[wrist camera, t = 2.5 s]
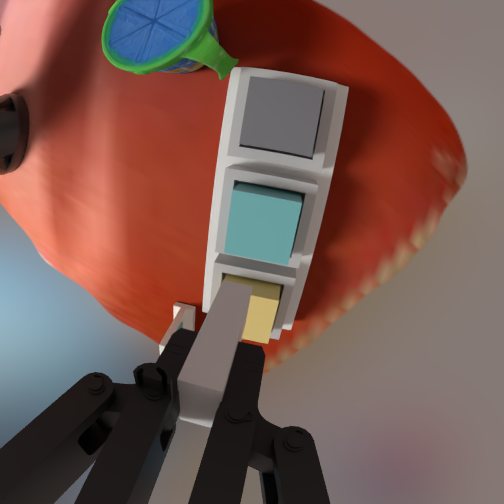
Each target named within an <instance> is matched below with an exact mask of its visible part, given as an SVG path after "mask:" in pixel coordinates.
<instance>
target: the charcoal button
mask: <svg viewBox="0 0 504 504" xmlns="http://www.w3.org/2000/svg"><path fill="white" fill-rule="evenodd" d="M323 91H324V88H320V87H315V86H310V85H305V84H300V83H295V82H289V81H283V80H277V79H270V78H263V77H255V76H250V80H249V86H248V92H247V98H246V104H245V110H244V116H243V122H242V129H241V135H240V141H239V144H243V145H249V146H256V147H262V148H268V149H273V150H279V151H284V152H289V153H294V154H299V155H304V156H309V157H312V152H313V147H314V141H315V136H316V131H317V125H318V120H319V114H320V108H321V103H322V97H323Z"/></svg>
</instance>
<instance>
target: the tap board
mask: <svg viewBox="0 0 504 504" xmlns="http://www.w3.org/2000/svg"><path fill="white" fill-rule="evenodd" d="M250 76H255V77H263V78H270V79H277V80H283V81H289V82H295V83H300V84H305V85H310V86H315V87H320V88H324V91H323V97H322V103H321V108H320V114H319V120H318V125H317V131H316V136H315V141H314V147H313V152H312V157H309V156H304V155H299V154H294V153H289V152H284V151H279V150H273V149H268V148H262V147H256V146H249V145H243V144H239V141H240V135H241V129H242V122H243V116H244V110H245V104H246V98H247V92H248V86H249V80H250ZM348 90H349V87H347V86H343V85H339V84H338V83H335V82H331V81H327V80H323V79H318V78H314V77H309V76H304V75H299V74H293V73H287V72H281V71H274V70H267V69H259V68H250V67H241V68H239V67H234V68H233V69H232V70H231V75H230V81H229V87H228V92H227V98H226V105H225V111H224V117H223V124H222V130H221V137H220V144H219V151H218V159H217V166H216V174H215V182H214V190H213V199H212V208H211V217H210V226H209V236H208V246H207V257H206V268H205V280H204V293H203V307H202V312H206V313H208V311H209V309H210V307H211V305H212V303H213V301H214V299H215V297H216V294H217V292H218V290H219V288H220V286H221V284H222V282H223V280H224V278H225V276H226V274H227V273H228V274H233V275H238V276H243V277H247V278H252V279H257V280H262V281H267V282H273V283H278V284H280V296H279V303H278V307H277V311H276V315H275V319H274V322H273V326H272V330H271V334H270V337H269V338H273V339H278V340H279V337H280V334H281V330H282V329H288V330H291V328H292V325H293V321H294V318H295V315H296V312H297V309H298V305H299V302H300V299H301V295H302V292H303V288H304V285H305V281H306V278H307V274H308V271H309V267H310V264H311V260H312V256H313V253H314V249H315V245H316V241H317V237H318V234H319V230H320V226H321V222H322V218H323V213H324V209H325V205H326V201H327V197H328V192H329V188H330V184H331V179H332V174H333V170H334V165H335V160H336V156H337V151H338V146H339V141H340V135H341V130H342V125H343V119H344V114H345V108H346V102H347V96H348ZM240 182H243V183H249V184H254V185H260V186H265V187H271V188H276V189H281V190H286V191H291V192H296V193H300V194H301V200H302V205H301V210H300V215H299V219H298V224H297V228H296V232H295V237H294V241H293V246H292V250H291V254H290V258H289V263H288V265H282V264H277V263H272V262H267V261H262V260H257V259H252V258H247V257H242V256H237V255H232V254H227V253H224V249H225V241H226V233H227V226H228V218H229V211H230V203H231V196H232V190H233V189H234V188H235V187H236V186H237V185H238V184H239V183H240Z"/></svg>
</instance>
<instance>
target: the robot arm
mask: <svg viewBox="0 0 504 504" xmlns="http://www.w3.org/2000/svg"><path fill="white" fill-rule="evenodd" d="M0 35H1V26H0ZM28 130H29V119H28V111H27V106H26V103H25V101H24V99H23V98H22V96H21V95H19V94H17V93H11V94H4V95H2V96H0V175H4V174H7V173H10V172H12V171H14V170H15V169H16V168H17V167H18V166H19V164H20V162H21V160H22V158H23V156H24V153H25V149H26V145H27V139H28ZM252 287H253V286H248V285H244V284H239V283H234V282H230V281H225V280H223V282H222V284H221V286H220V288H219V290H218V292H217V294H216V297H215V299H214V301H213V303H212V305H211V307H210V309H209V311H208V314H207V316H206V318H205V320H204V322H203V324H202V326H201V329H200V331H199V332H195V331H192V330H188V329H184V328H180V329H178V330H177V331H176V332H174V333H173V334H172V335H171V337H170V339H169V341H168V343H167V344H166V346H165V348H164V350H163V351H162V353H161V355H160V356H159V358H158V360H157V362H156V363H144V364H142V365H140V366H138V367H137V368H136V369H135V370H134V371H133V373H134V378H135V382H136V384H120V383H112V380H111V379H110V378H109V377H108V376H107V375H105V374H103V373H97V372H94V373H89V374H88V375H86V376H84V377H83V378H82V379H80V380H79V381H78V382H77V383H76V384H75V385H73V386H72V387H71V388H70V389H69V390H68V391H66V392H65V393H64V394H63V395H62V396H61V397H59V398H58V399H57V400H56V401H55V402H54V403H52V404H51V405H50V406H49V407H48V408H47V409H45V410H44V411H43V412H42V413H41V414H40V415H39V416H37V417H36V418H35V419H34V420H33V421H32V422H31V423H29V424H28V425H27V426H26V427H25V428H24V429H22V430H21V431H20V432H19V433H18V434H17V435H16V436H14V437H13V438H12V439H11V440H10V441H9V442H8V443H6V444H5V445H4V446H3V447H2V448H1V449H0V504H53V503H55V501H56V500H57V499H58V498H59V497H60V496H61V495H62V494H63V493H64V492H65V491H66V490H67V489H68V488H69V487H70V486H71V485H72V484H73V483H74V482H75V481H76V480H77V479H78V478H79V477H80V476H81V475H82V474H83V473H84V472H85V471H86V470H87V469H88V468H89V467H90V466H91V464H92V463H93V462H94V461H95V460H96V461H95V463H94V466H93V467H92V469H91V471H90V473H89V475H88V477H87V479H86V481H85V483H84V485H83V487H82V489H81V491H80V493H79V495H78V497H77V499H76V501H75V503H74V504H148V502H149V499H150V496H151V494H152V491H153V488H154V486H155V483H156V480H157V478H158V475H159V472H160V470H161V467H162V464H163V462H164V459H165V457H166V454H167V452H168V449H169V446H170V444H171V441H172V438H173V436H174V433H175V430H176V421H177V418H178V416H180V419H182V420H185V421H188V422H192V423H195V424H199V425H203V426H207V427H211V431H210V435H209V437H208V441H207V444H206V447H205V451H204V454H203V457H202V460H201V464H200V467H199V470H198V474H197V477H196V480H195V483H194V487H193V490H192V493H191V496H190V499H189V503H188V504H240V502H241V498H242V493H243V487H244V483H245V478H246V473H247V468H248V466H250V467H252V468H254V469H256V470H258V471H259V476H260V483H261V490H262V498H263V504H330V501H329V497H328V493H327V489H326V485H325V481H324V478H323V474H322V470H321V466H320V462H319V458H318V455H317V450H316V447H315V443H314V440H313V438H312V436H311V434H310V433H308V432H307V431H306V430H305V429H303V428H300V427H296V426H289V427H285V428H280V427H278V426H276V425H274V424H272V423H270V422H268V421H266V420H265V419H264V418H263V417H262V416H261V414H260V413H259V410H258V398H259V392H260V386H261V380H262V373H263V367H264V361H265V354H264V351H263V348H262V346H258V345H253V344H248V343H244V342H241V339H242V336H243V332H244V328H245V323H246V318H247V313H248V308H249V303H250V298H251V292H252Z"/></svg>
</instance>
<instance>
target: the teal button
mask: <svg viewBox="0 0 504 504" xmlns="http://www.w3.org/2000/svg"><path fill="white" fill-rule="evenodd" d="M301 205H302V200H301V194H300V193H296V192H291V191H286V190H281V189H276V188H271V187H265V186H260V185H254V184H249V183H243V182H240V183H239V184H238V185H237V186H236V187H235V188H234V189H233V190H232V196H231V203H230V211H229V218H228V226H227V233H226V241H225V249H224V253H227V254H232V255H237V256H242V257H247V258H252V259H257V260H262V261H267V262H272V263H277V264H282V265H288V263H289V258H290V254H291V250H292V246H293V241H294V237H295V232H296V228H297V224H298V219H299V215H300V210H301Z"/></svg>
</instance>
